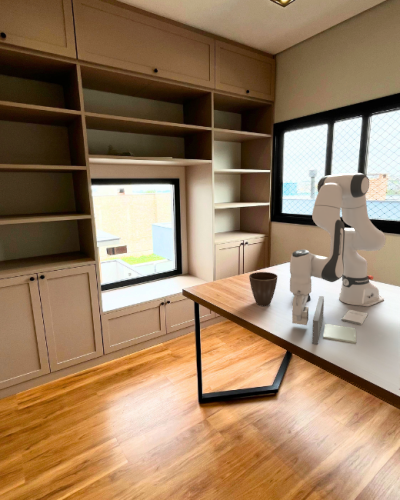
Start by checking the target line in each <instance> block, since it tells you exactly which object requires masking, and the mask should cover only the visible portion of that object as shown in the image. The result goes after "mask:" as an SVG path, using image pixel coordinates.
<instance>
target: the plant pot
mask: <svg viewBox="0 0 400 500" xmlns="http://www.w3.org/2000/svg"><path fill="white" fill-rule="evenodd" d="M248 277H249V284H250V289H251V292H252V295H253V298H254V302H255V304H256V305H257V306H260V307H268V306H270V305H271V303H272V301H273V299H274V294H275V292H276V288H277V287H276V286H277V284H278V283H277V282H278V275H277V274H276V273H274V272H268V271H267V272H266V271H259V272H258V271H257V272H252V273H250V274H249V275H248Z"/></svg>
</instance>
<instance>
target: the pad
mask: <svg viewBox="0 0 400 500" xmlns="http://www.w3.org/2000/svg"><path fill="white" fill-rule="evenodd" d="M322 338H323V339H328V340H332V341H340V342H345V343H351V344H356V343H357V336H356V328H355V327H350V326H342V325H337V324H336V325H334V324H331V323H330V324H329V323H328V324H327V323H325V324H324V329H323V335H322Z"/></svg>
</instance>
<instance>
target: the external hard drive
mask: <svg viewBox="0 0 400 500" xmlns="http://www.w3.org/2000/svg"><path fill="white" fill-rule="evenodd" d="M367 317H368V313H367V312H364V311H363V312H362V311H358V310H354V309H348V311H347V312H345V314H344V316H342V318H341V322H347V323H349V324H353V325H354V324H355V325H358V326H362V325H363V323H364V322H365V320H366V318H367Z"/></svg>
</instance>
